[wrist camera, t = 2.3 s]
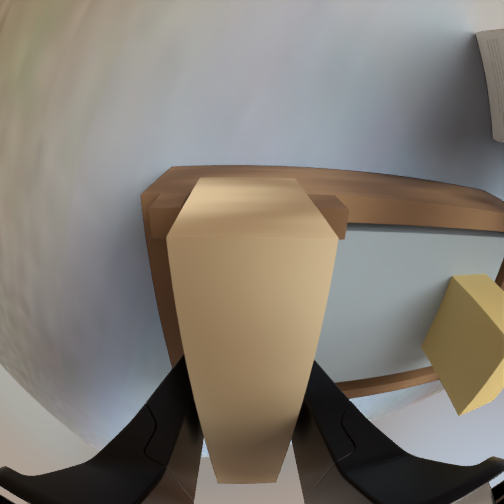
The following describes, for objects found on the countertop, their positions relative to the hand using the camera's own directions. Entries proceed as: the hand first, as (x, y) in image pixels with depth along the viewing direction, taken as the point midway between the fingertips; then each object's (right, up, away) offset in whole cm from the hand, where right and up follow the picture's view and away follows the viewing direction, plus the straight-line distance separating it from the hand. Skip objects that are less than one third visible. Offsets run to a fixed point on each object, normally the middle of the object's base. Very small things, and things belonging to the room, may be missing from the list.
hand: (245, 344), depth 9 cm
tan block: (0, 0, 0) cm, 0 cm away
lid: (+5, +1, +2) cm, 5 cm away
